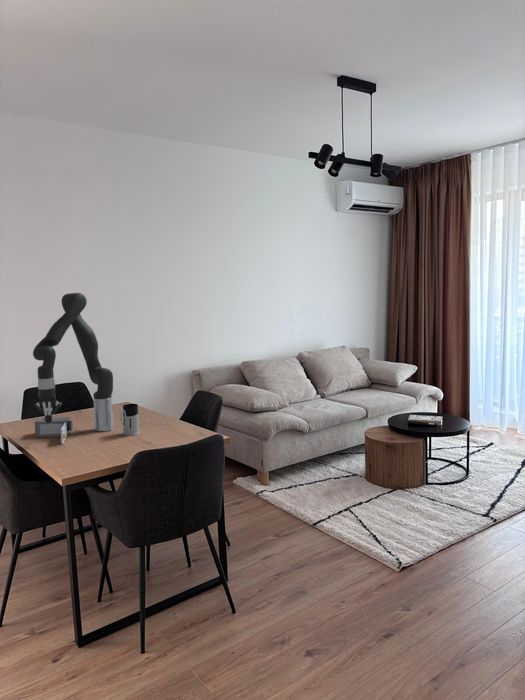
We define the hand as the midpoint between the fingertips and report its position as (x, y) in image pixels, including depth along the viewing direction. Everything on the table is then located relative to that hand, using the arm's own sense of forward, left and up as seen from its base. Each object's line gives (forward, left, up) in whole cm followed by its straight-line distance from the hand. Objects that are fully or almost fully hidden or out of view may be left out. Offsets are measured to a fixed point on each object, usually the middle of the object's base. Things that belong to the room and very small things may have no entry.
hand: (48, 422), depth 264 cm
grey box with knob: (+3, -19, -10) cm, 22 cm away
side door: (-6, -6, -10) cm, 13 cm away
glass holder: (-36, -14, -11) cm, 40 cm away
